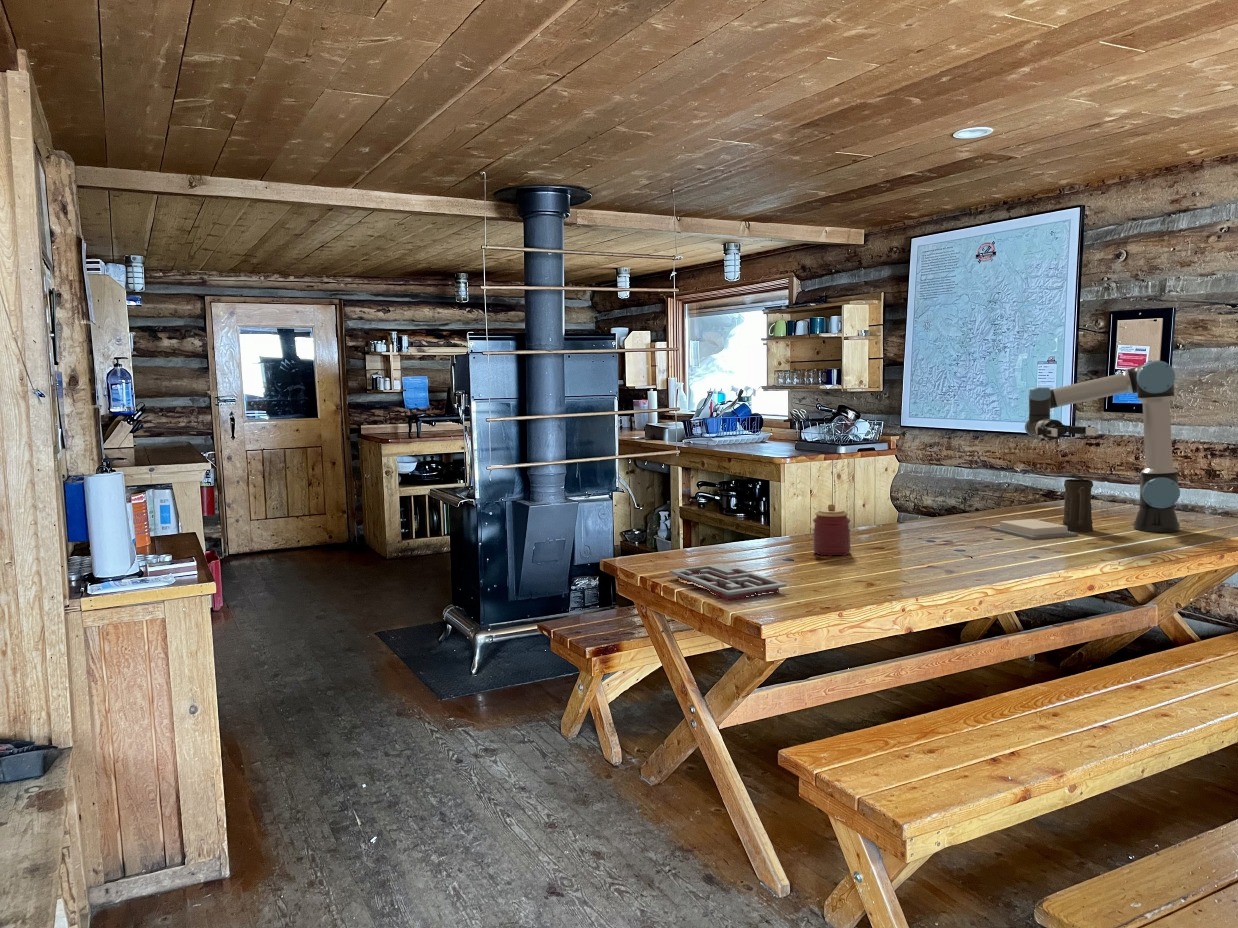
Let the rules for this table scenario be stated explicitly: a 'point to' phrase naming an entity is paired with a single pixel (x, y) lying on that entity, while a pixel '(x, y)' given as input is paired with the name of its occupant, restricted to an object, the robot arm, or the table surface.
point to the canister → (831, 532)
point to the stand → (1033, 529)
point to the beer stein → (1078, 505)
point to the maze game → (728, 580)
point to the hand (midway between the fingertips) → (1076, 432)
